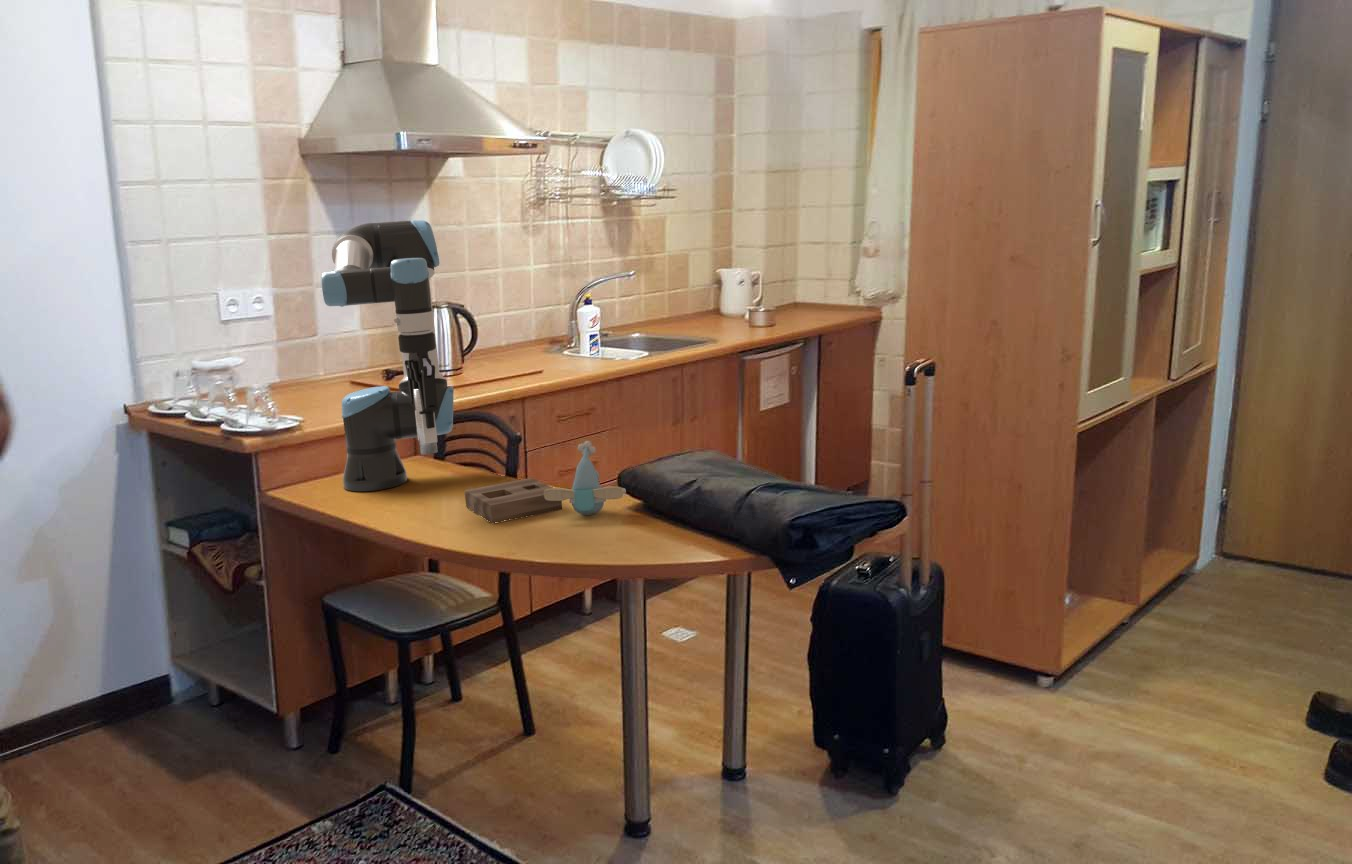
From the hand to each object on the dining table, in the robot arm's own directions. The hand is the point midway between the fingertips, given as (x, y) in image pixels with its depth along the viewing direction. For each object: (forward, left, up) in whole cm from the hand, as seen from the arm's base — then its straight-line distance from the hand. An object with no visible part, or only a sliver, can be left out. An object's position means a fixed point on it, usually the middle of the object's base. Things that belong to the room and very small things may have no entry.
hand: (427, 440), depth 238 cm
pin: (0, 0, -3) cm, 3 cm away
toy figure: (+23, +26, -16) cm, 38 cm away
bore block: (+8, +15, -16) cm, 24 cm away
